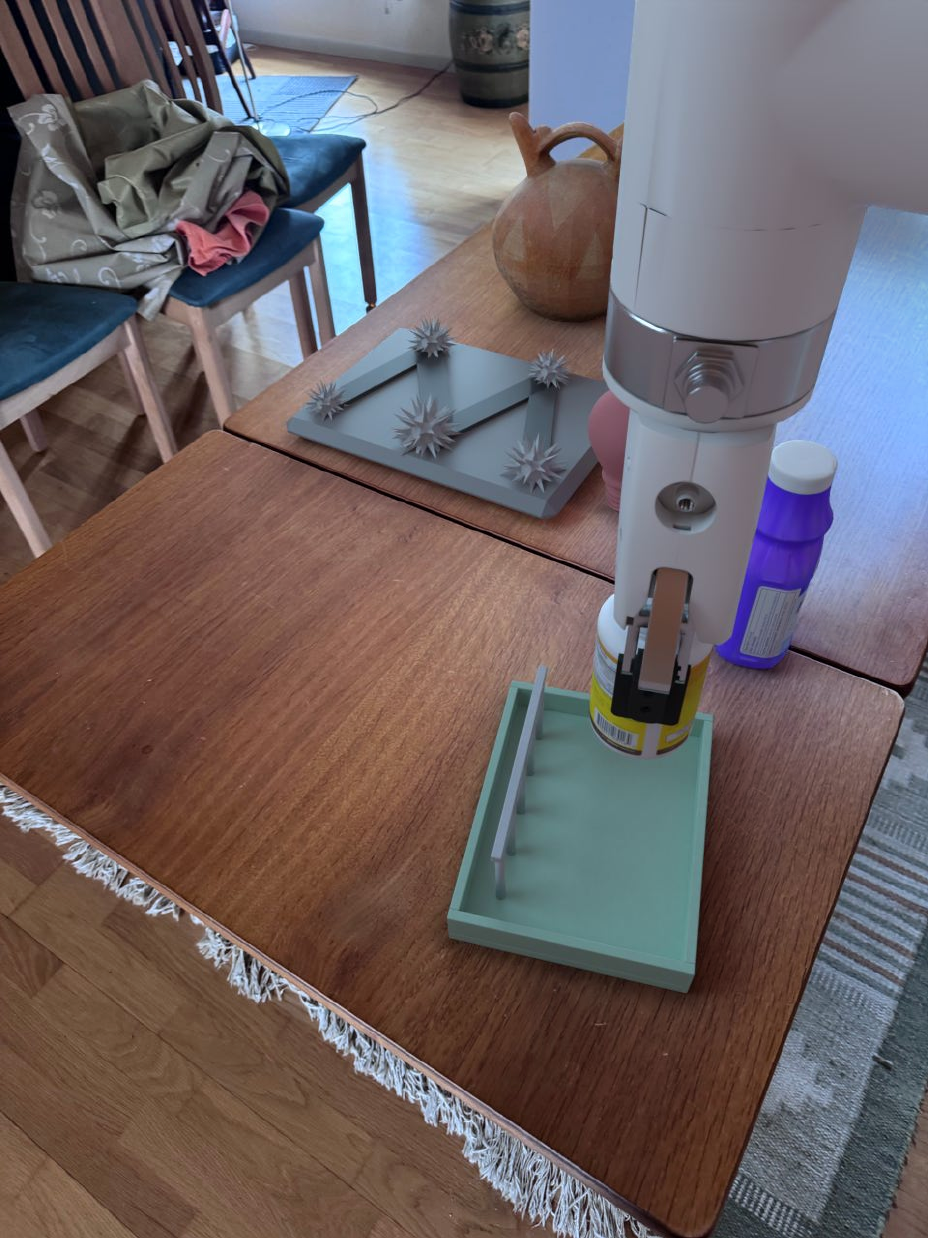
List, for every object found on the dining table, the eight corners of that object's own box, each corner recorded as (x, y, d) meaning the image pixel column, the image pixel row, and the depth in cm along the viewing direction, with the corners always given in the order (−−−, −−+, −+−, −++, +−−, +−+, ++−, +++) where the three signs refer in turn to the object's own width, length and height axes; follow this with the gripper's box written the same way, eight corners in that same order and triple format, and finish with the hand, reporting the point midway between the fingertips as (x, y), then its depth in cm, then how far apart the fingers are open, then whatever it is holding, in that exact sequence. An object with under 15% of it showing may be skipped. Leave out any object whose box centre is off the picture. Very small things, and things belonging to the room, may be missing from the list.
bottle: (782, 684, 64) (850, 500, 52) (704, 667, 66) (752, 483, 53) (791, 615, 69) (855, 430, 56) (717, 600, 70) (764, 416, 58)
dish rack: (707, 738, 61) (726, 671, 56) (687, 994, 50) (709, 940, 44) (511, 704, 64) (512, 636, 59) (448, 938, 52) (442, 881, 47)
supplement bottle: (687, 684, 49) (719, 549, 42) (695, 768, 45) (733, 636, 38) (586, 679, 50) (601, 544, 42) (586, 761, 46) (602, 630, 38)
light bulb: (573, 523, 77) (581, 407, 69) (592, 475, 82) (601, 360, 73) (653, 538, 76) (672, 421, 67) (668, 488, 80) (687, 372, 71)
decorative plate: (645, 409, 89) (654, 345, 84) (550, 533, 77) (553, 468, 72) (399, 340, 100) (393, 280, 95) (282, 439, 88) (267, 376, 83)
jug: (473, 327, 101) (468, 141, 87) (514, 258, 113) (515, 83, 98) (632, 346, 97) (654, 154, 83) (657, 273, 109) (680, 93, 94)
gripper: (832, 504, 24) (718, 831, 38) (819, 238, 36) (734, 561, 49) (565, 471, 26) (545, 797, 39) (634, 225, 37) (600, 543, 50)
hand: (651, 663), depth 44 cm, fingers closed on supplement bottle, 5 cm apart
